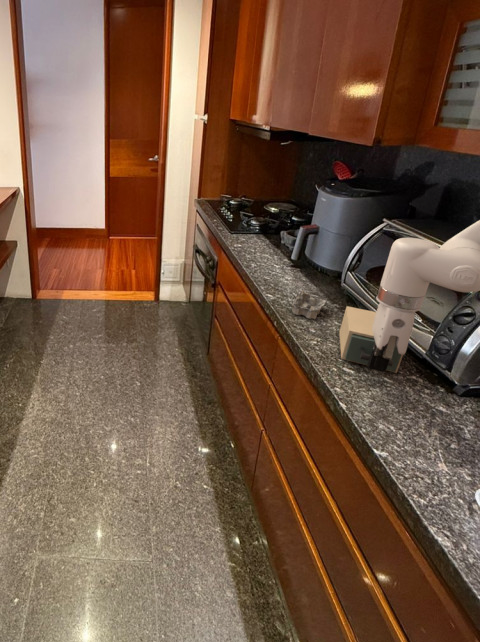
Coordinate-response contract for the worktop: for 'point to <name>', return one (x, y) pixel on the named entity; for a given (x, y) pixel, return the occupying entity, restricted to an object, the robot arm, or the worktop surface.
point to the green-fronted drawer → (367, 351)
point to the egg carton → (307, 305)
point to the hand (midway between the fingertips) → (376, 368)
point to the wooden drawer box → (356, 327)
